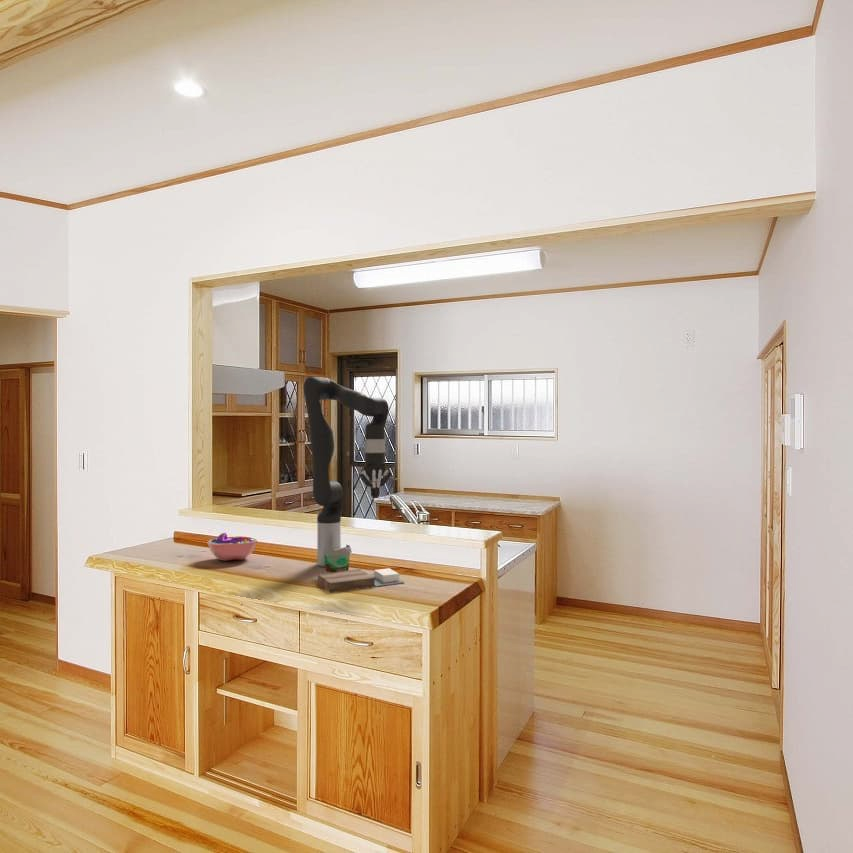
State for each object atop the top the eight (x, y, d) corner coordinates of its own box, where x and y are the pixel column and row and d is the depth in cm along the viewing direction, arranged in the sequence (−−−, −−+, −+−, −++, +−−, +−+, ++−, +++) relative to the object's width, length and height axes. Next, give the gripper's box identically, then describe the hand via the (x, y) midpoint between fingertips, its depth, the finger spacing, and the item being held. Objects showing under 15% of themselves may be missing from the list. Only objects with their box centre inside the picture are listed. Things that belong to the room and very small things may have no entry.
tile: (389, 568, 233) (389, 574, 233) (374, 569, 230) (374, 576, 230) (398, 573, 225) (398, 580, 225) (383, 575, 222) (383, 582, 222)
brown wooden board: (318, 582, 224) (317, 574, 224) (360, 577, 231) (360, 569, 231) (330, 592, 211) (330, 583, 211) (374, 586, 219) (374, 577, 219)
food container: (333, 579, 228) (333, 551, 228) (322, 576, 232) (322, 549, 232) (358, 572, 238) (358, 546, 238) (347, 570, 242) (347, 544, 242)
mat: (359, 576, 232) (359, 575, 232) (386, 573, 237) (386, 572, 237) (375, 587, 218) (375, 585, 218) (404, 583, 223) (404, 582, 223)
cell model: (250, 565, 250) (250, 536, 250) (200, 564, 251) (200, 536, 250) (262, 555, 267) (262, 529, 267) (215, 555, 268) (215, 529, 267)
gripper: (387, 450, 240) (387, 495, 240) (354, 451, 233) (354, 497, 234) (395, 451, 233) (395, 497, 233) (362, 452, 227) (362, 500, 227)
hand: (375, 497), depth 233 cm, fingers closed
